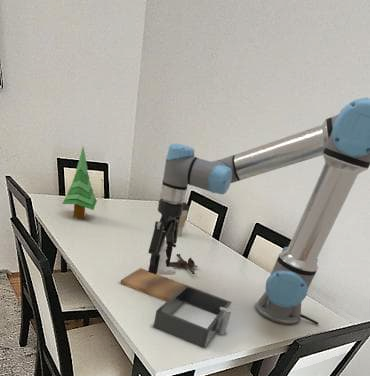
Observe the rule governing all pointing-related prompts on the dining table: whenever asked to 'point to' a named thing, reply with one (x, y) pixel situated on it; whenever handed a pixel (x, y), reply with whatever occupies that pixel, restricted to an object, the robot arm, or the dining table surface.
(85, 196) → the decorative tree
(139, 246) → the dining table surface
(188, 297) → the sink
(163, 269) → the white creature statuette
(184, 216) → the coffee cup
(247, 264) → the dining table surface
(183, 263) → the brown humanoid figurine
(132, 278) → the board
